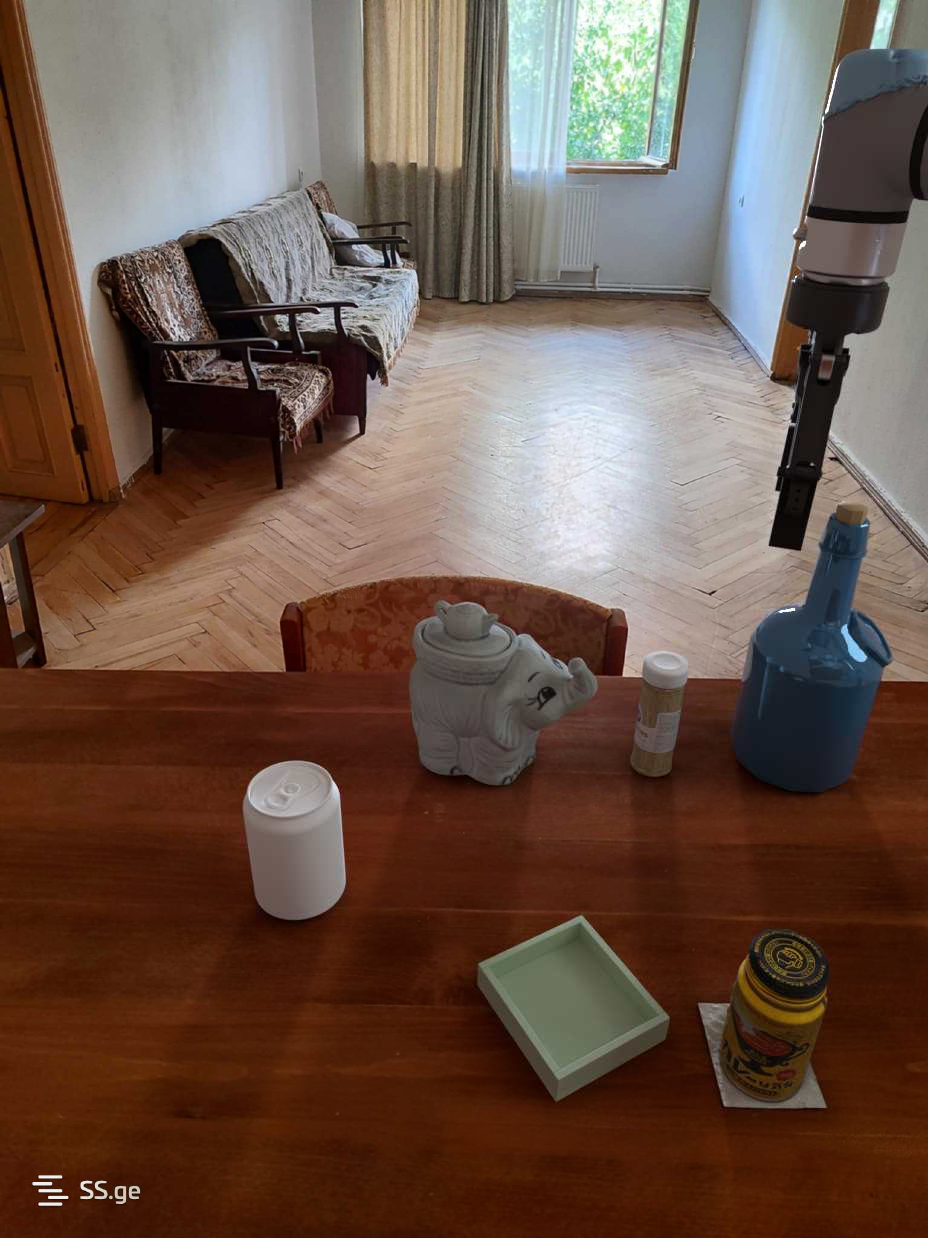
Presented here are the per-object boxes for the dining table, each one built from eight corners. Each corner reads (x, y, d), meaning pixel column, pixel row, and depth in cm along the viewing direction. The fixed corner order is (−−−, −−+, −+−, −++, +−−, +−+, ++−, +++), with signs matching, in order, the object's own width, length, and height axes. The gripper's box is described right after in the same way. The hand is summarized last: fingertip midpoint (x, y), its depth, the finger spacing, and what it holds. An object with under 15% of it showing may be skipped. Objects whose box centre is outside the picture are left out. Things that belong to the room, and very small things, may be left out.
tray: (665, 1039, 67) (670, 1018, 66) (555, 1102, 63) (558, 1080, 62) (579, 936, 76) (581, 914, 75) (477, 985, 71) (477, 963, 70)
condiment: (723, 1108, 63) (753, 998, 57) (697, 1004, 70) (721, 897, 64) (826, 1110, 63) (866, 1000, 57) (789, 1005, 70) (821, 898, 64)
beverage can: (363, 878, 81) (358, 777, 75) (307, 939, 75) (296, 834, 69) (295, 845, 85) (284, 746, 79) (236, 901, 79) (219, 798, 73)
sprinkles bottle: (623, 755, 97) (636, 652, 91) (661, 749, 98) (677, 647, 92) (640, 782, 94) (655, 676, 87) (679, 775, 94) (697, 670, 88)
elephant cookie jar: (592, 783, 93) (609, 629, 84) (469, 832, 87) (473, 671, 77) (509, 703, 106) (516, 562, 96) (395, 741, 99) (391, 593, 90)
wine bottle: (723, 782, 94) (778, 521, 79) (731, 712, 105) (780, 472, 90) (861, 811, 90) (945, 544, 75) (854, 736, 101) (926, 489, 86)
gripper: (796, 252, 83) (753, 467, 93) (789, 298, 62) (735, 567, 73) (882, 258, 81) (828, 477, 91) (904, 308, 60) (831, 583, 71)
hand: (787, 517), depth 82 cm, fingers open, 13 cm apart
